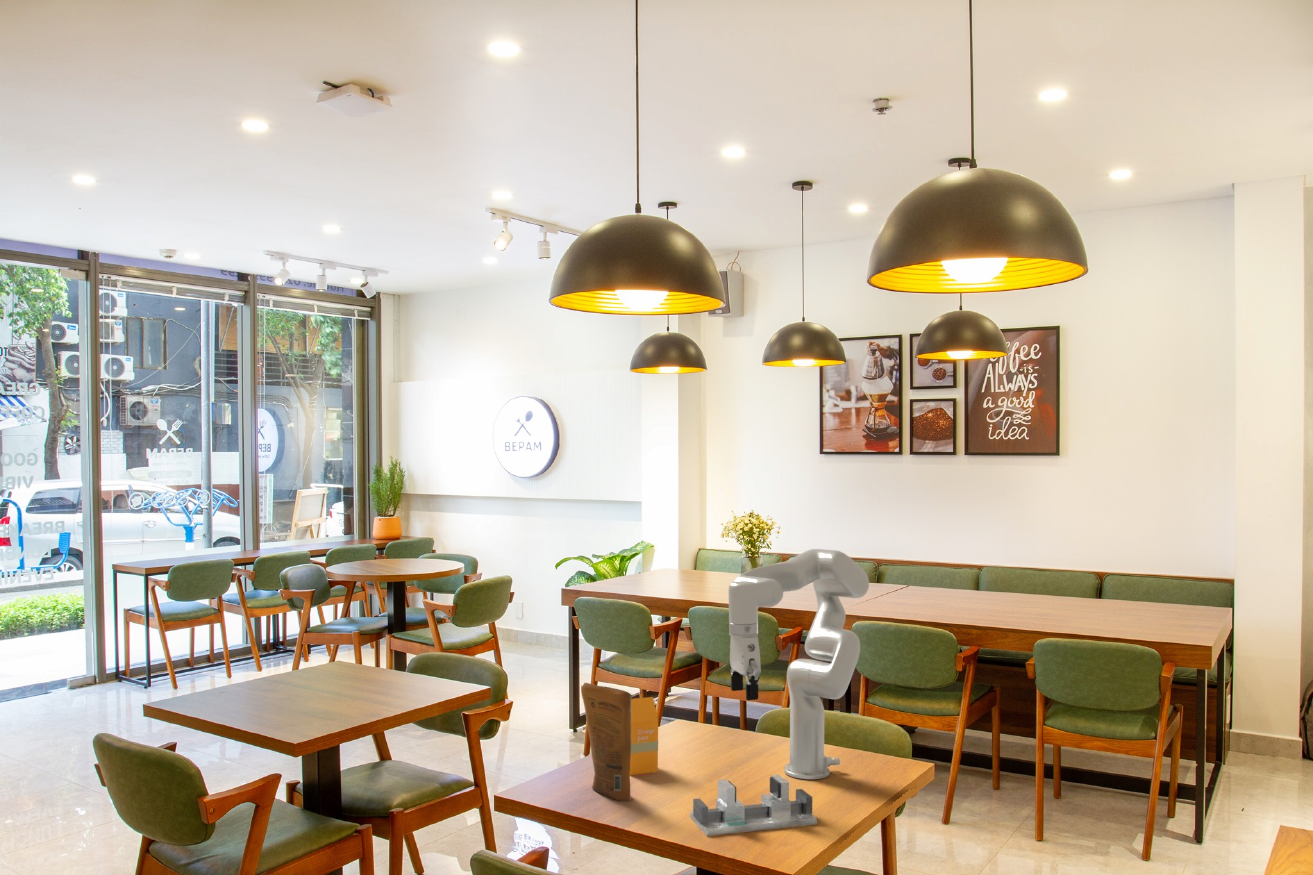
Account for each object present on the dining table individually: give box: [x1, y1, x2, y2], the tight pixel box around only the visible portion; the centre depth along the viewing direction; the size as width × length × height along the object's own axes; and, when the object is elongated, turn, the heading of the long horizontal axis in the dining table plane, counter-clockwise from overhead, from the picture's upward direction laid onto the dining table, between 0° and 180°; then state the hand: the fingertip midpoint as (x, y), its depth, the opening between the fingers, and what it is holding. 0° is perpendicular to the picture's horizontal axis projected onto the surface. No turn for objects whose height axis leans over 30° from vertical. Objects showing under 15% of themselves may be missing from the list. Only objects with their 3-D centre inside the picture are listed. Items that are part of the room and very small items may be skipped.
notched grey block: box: [715, 778, 746, 822], centre depth 225 cm, size 5×6×8 cm
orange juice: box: [630, 696, 659, 776], centre depth 265 cm, size 8×9×20 cm
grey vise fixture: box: [689, 774, 818, 837], centre depth 227 cm, size 29×12×10 cm, turn 107°
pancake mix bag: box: [580, 682, 633, 802], centre depth 245 cm, size 7×19×28 cm, turn 39°
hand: (744, 694), depth 244 cm, fingers open, 9 cm apart
